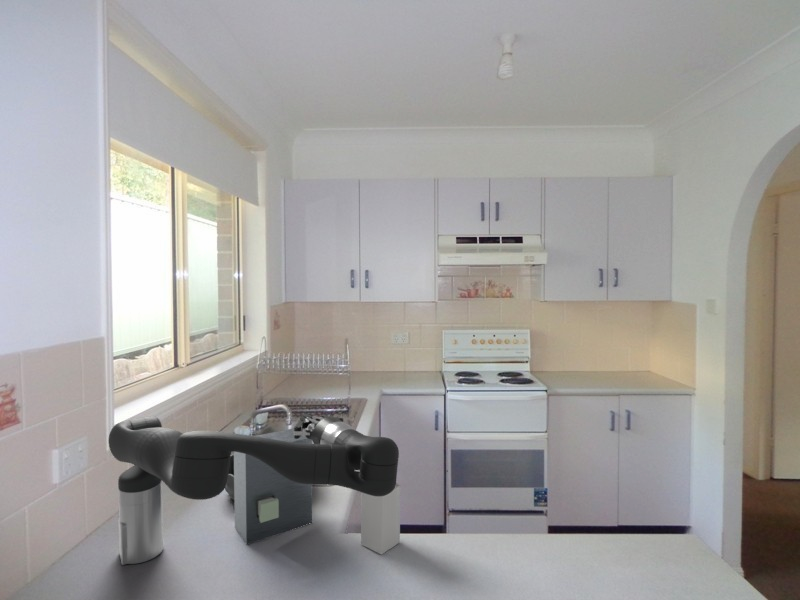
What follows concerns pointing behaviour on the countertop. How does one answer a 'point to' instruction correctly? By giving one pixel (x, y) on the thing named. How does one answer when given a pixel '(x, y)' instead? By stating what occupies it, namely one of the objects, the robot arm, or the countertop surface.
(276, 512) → the sage button
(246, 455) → the control panel
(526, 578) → the countertop surface
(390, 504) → the milk carton
